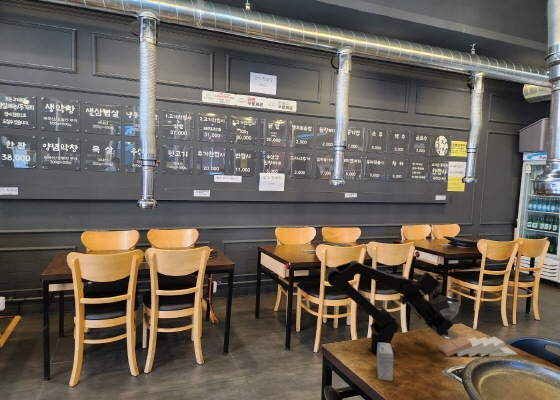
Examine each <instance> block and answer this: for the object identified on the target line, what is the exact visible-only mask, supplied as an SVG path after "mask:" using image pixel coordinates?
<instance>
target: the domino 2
mask: <svg viewBox="0 0 560 400" xmlns="http://www.w3.org/2000/svg"><path fill="white" fill-rule="evenodd" d="M467 340H468V341H470V342H471V344H472V347H470V348H468V349H465V350H463V351H460V352H458V353H455V354H454V355H456V356H457V357H459V358H460V357H462V356H465V355H467V353H470V352H472V351H475V350H477V349H480V348H482V347H484V345H483V343H482V342H481V341H479V340H478V338H476V337H475V336H472V337H470V338H468V339H467Z"/></svg>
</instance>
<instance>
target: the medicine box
mask: <svg viewBox="0 0 560 400" xmlns="http://www.w3.org/2000/svg"><path fill="white" fill-rule="evenodd" d="M392 348H393V347H392V343H391V344H389V343H381V342H378V343H377V355H376V364H375V365H376V372H377V379H378V380H382V381H390V382H392V381H393V380H394V379H393V378H394V377H393V376H394V375H393V372H394V351H393V349H392Z"/></svg>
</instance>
